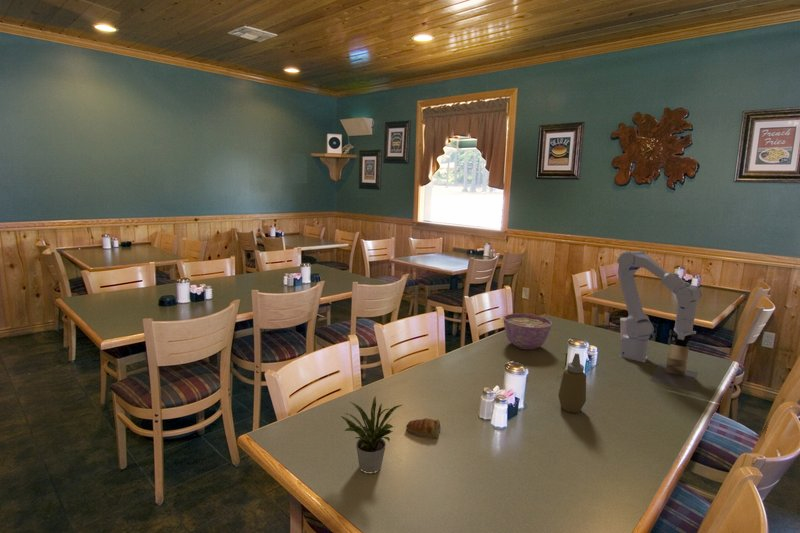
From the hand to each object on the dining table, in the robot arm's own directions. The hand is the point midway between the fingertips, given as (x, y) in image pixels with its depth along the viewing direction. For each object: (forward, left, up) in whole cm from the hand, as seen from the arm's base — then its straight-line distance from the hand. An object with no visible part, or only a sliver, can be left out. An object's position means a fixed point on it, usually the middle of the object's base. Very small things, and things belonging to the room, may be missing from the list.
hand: (679, 353), depth 170 cm
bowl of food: (-55, -11, -9) cm, 57 cm away
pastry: (-51, -96, -9) cm, 109 cm away
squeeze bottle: (-23, -55, -9) cm, 60 cm away
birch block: (0, 0, -6) cm, 6 cm away
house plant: (-52, -116, -9) cm, 127 cm away
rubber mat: (0, -4, -8) cm, 9 cm away
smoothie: (-23, +29, -9) cm, 38 cm away
